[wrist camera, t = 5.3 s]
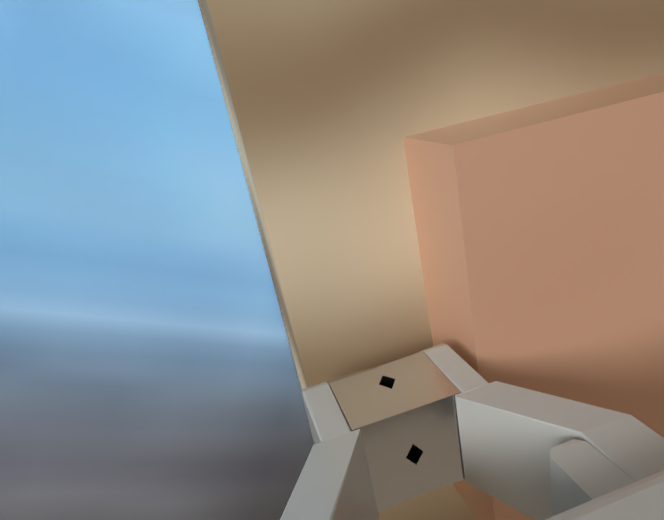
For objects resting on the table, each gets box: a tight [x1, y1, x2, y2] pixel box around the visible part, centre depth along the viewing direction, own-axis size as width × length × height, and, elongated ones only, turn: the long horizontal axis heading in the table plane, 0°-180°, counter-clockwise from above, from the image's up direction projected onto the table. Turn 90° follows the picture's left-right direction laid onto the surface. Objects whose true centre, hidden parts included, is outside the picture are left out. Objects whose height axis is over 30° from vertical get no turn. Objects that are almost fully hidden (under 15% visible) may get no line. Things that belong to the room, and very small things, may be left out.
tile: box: [403, 74, 664, 520], centre depth 11 cm, size 9×6×2 cm, turn 12°
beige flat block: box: [198, 0, 664, 520], centre depth 13 cm, size 22×12×2 cm, turn 12°
